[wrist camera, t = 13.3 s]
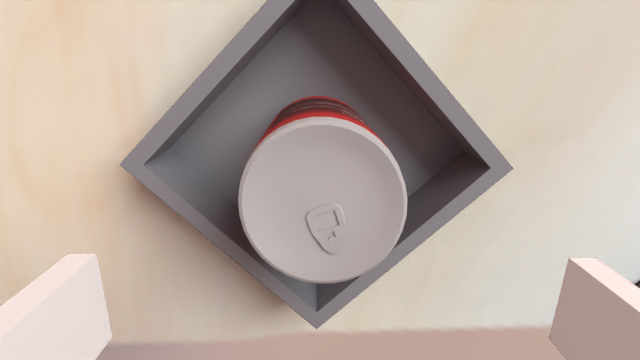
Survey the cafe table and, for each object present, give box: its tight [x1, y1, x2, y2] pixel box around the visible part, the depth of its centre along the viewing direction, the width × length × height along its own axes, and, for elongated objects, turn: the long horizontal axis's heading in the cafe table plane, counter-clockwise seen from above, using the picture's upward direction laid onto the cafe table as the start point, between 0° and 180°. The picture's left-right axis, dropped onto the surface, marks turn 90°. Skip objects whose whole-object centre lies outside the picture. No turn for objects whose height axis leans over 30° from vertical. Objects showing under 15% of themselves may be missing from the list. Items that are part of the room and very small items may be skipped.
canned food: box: [238, 96, 408, 283], centre depth 22 cm, size 8×8×11 cm
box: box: [120, 0, 514, 329], centre depth 25 cm, size 17×17×5 cm
